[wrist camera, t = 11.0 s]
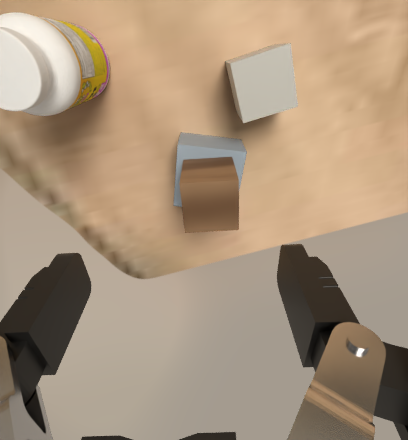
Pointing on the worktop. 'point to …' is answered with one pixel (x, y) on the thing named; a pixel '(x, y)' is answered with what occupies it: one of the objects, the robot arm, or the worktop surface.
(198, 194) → the walnut block
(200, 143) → the base block
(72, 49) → the supplement bottle
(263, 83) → the grey block
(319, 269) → the robot arm
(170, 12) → the worktop surface
